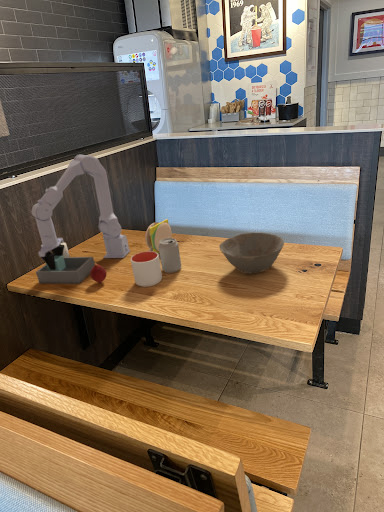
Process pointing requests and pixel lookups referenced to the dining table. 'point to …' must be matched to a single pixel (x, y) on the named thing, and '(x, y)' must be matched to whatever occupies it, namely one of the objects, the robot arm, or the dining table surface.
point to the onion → (98, 273)
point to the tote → (67, 271)
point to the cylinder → (65, 250)
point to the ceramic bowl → (252, 251)
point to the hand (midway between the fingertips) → (56, 266)
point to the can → (169, 255)
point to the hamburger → (157, 234)
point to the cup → (146, 268)
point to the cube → (58, 264)
